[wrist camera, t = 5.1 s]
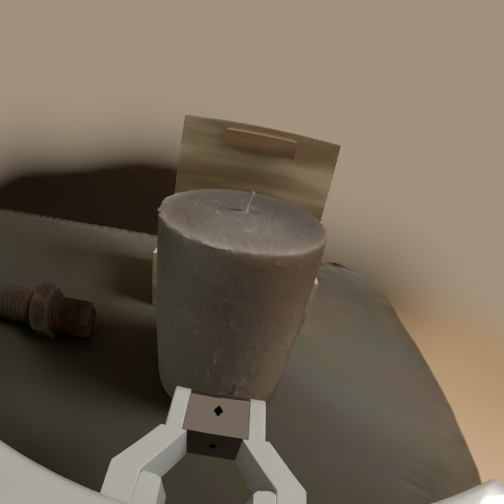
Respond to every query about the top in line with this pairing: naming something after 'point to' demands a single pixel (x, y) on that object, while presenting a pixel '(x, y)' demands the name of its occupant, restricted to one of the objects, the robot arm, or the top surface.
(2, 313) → the bolt
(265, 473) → the robot arm
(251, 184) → the cradle
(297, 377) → the top surface
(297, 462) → the top surface
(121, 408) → the top surface
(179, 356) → the pillar candle
